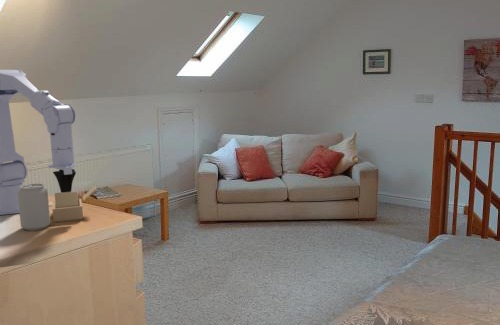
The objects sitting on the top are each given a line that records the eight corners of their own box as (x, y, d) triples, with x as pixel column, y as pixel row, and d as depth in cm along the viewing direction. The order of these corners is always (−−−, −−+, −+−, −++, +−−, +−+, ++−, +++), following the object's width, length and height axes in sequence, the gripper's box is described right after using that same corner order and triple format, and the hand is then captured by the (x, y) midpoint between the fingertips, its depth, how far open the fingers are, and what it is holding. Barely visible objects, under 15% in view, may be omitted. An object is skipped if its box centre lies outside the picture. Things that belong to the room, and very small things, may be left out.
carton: (40, 211, 148) (39, 198, 147) (81, 207, 152) (80, 194, 152) (38, 224, 134) (36, 210, 133) (83, 219, 138) (82, 205, 138)
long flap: (54, 193, 132) (54, 193, 132) (77, 191, 134) (77, 191, 134) (56, 206, 135) (56, 207, 135) (78, 204, 137) (78, 205, 137)
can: (39, 232, 127) (35, 188, 125) (15, 230, 129) (10, 187, 127) (56, 224, 135) (52, 182, 132) (32, 222, 136) (28, 182, 134)
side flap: (95, 188, 143) (96, 189, 143) (94, 185, 147) (95, 186, 147) (83, 200, 142) (83, 201, 142) (82, 196, 146) (83, 197, 147)
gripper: (43, 146, 136) (48, 192, 139) (50, 152, 124) (54, 202, 126) (69, 144, 140) (73, 189, 142) (78, 150, 127) (82, 199, 130)
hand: (66, 195), depth 134 cm, fingers closed
